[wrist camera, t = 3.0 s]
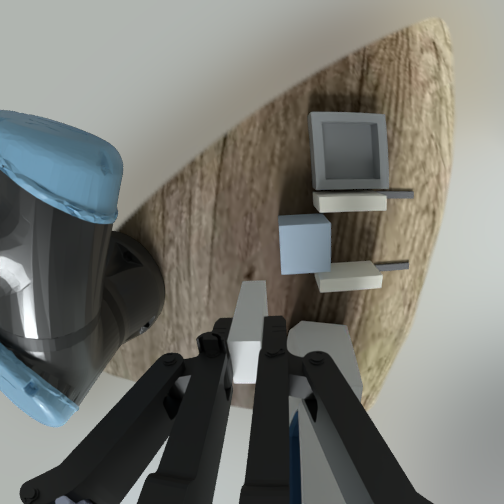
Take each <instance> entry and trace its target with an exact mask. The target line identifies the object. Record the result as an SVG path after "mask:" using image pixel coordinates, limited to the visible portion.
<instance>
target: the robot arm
mask: <svg viewBox="0 0 504 504" xmlns="http://www.w3.org/2000/svg"><path fill="white" fill-rule="evenodd" d="M122 175H123V162H122V159H121V156H120V154H119V152H118V151H117V150H116V148H115V147H113V146H112V145H111V144H110V143H108V142H106V141H105V140H103V139H101V138H99V137H97V136H95V135H93V134H90V133H88V132H86V131H83V130H80V129H78V128H75V127H72V126H69V125H66V124H64V123H60V122H57V121H54V120H51V119H47V118H43V117H39V116H35V115H28V114H24V113H18V112H15V111H8V110H0V390H1V391H2V392H3V393H4V394H5V395H6V396H7V397H8V398H9V399H10V400H11V401H12V402H13V403H14V404H15V405H16V406H18V408H20V409H21V410H22V411H23V412H25V413H26V414H28V415H29V416H30V417H32V418H33V419H35V420H36V421H38V422H40V423H42V424H44V425H47V426H50V427H60V426H62V425H64V424H65V423H66V422H67V421H68V419H69V418H70V417H71V416H72V415H73V413H74V412H75V411H78V410H79V405H80V403H81V402H82V400H83V399H84V397H85V396H86V395H87V393H88V392H89V390H90V388H91V387H92V385H93V384H94V383H95V381H96V380H97V378H98V377H99V375H100V374H101V373H102V371H103V370H104V368H105V367H106V365H107V364H108V363H109V361H110V360H111V358H112V357H113V356H114V354H115V353H116V351H117V350H118V348H119V347H120V346H121V345H122V344H124V343H126V342H127V341H129V340H131V339H133V338H135V337H137V336H139V335H140V334H142V333H144V332H145V331H147V330H148V329H149V328H150V327H151V326H152V325H153V324H154V322H155V321H156V319H157V318H158V316H159V315H160V313H161V311H162V308H163V305H164V299H165V289H164V283H163V279H162V276H161V273H160V270H159V268H158V266H157V264H156V263H155V261H154V259H153V258H152V256H151V255H150V254H149V253H148V251H147V250H146V249H145V248H144V247H143V246H142V245H141V244H139V243H138V242H137V241H136V240H134V239H133V238H131V237H129V236H127V235H125V234H123V233H120V232H116V231H112V226H113V223H114V222H115V220H116V218H117V216H118V210H117V201H118V195H119V190H120V185H121V180H122ZM196 341H197V345H198V349H199V355H198V356H197V357H193V358H188V359H183V357H182V356H181V355H180V354H178V353H167V354H164V355H162V356H161V357H160V358H158V360H157V361H156V362H155V363H154V364H153V365H152V366H151V367H150V368H149V369H148V370H147V371H146V373H145V374H144V375H143V376H142V377H141V378H140V379H139V380H138V381H137V382H136V383H135V384H134V386H133V387H132V388H131V389H130V390H129V391H128V392H127V393H126V394H125V395H124V396H123V397H122V399H121V400H120V401H119V402H118V403H117V404H116V405H115V406H114V407H113V408H112V409H111V410H110V411H109V413H108V414H107V415H106V416H105V417H104V418H103V419H102V420H101V421H100V422H99V423H98V424H97V425H96V427H95V428H94V429H93V430H92V431H91V432H90V433H89V434H88V435H87V437H85V438H84V440H82V442H81V443H80V444H79V445H78V446H77V447H76V448H75V449H74V450H73V451H72V452H71V453H70V454H69V456H68V457H67V458H66V459H65V460H64V461H63V462H62V463H61V464H60V465H59V466H57V467H55V468H53V469H51V470H49V471H47V472H45V473H43V474H41V475H39V476H37V477H35V478H33V479H31V480H29V481H27V482H25V483H24V484H23V485H22V487H21V488H20V498H21V500H22V502H23V503H24V504H120V502H121V501H122V500H123V499H124V497H125V496H126V494H127V493H128V492H129V491H130V489H131V488H132V486H133V485H134V484H135V483H136V481H137V480H138V478H139V477H140V476H141V474H142V473H143V472H144V470H145V469H146V467H147V466H148V465H149V463H150V462H151V461H152V459H153V458H154V456H155V455H156V454H157V452H158V450H159V449H160V448H161V446H162V445H163V444H164V442H165V441H166V439H167V438H168V436H169V438H168V441H167V444H166V447H165V450H164V452H163V456H162V458H161V461H160V464H159V467H158V469H157V471H156V472H155V473H151V474H149V475H148V476H147V478H146V480H145V482H144V485H143V488H142V491H141V493H140V496H139V499H138V502H137V504H212V502H213V496H214V490H215V485H216V480H217V474H218V469H219V463H220V459H221V453H222V448H223V442H224V436H225V431H226V426H227V421H228V415H229V409H230V405H231V399H232V394H233V386H232V380H233V379H234V383H256V386H255V395H254V405H253V414H252V424H251V433H250V441H249V450H248V459H247V467H246V475H245V483H244V485H243V486H242V489H241V493H240V499H239V504H289V503H290V485H289V479H290V442H289V396H291V397H296V398H301V400H302V403H303V405H304V408H305V410H306V412H307V415H308V417H309V420H310V422H311V424H312V427H313V429H314V431H315V434H316V436H317V438H318V441H319V443H320V445H321V448H322V450H323V452H324V454H325V457H326V459H327V461H328V464H329V466H330V468H331V471H332V473H333V475H334V477H335V480H336V482H337V484H338V487H339V489H340V491H341V493H342V496H343V498H344V500H345V502H346V504H433V503H432V502H430V501H429V500H427V499H426V498H424V497H423V496H421V495H420V494H419V493H417V492H416V491H415V489H414V487H413V486H412V484H411V483H410V481H409V479H408V478H407V476H406V474H405V473H404V471H403V470H402V468H401V466H400V465H399V463H398V462H397V460H396V458H395V457H394V455H393V453H392V452H391V450H390V449H389V447H388V445H387V444H386V442H385V441H384V439H383V437H382V436H381V434H380V433H379V431H378V430H377V428H376V427H375V425H374V423H373V422H372V420H371V419H370V417H369V416H368V414H367V412H366V411H365V409H364V407H363V406H362V404H361V403H360V401H359V399H358V398H357V396H356V395H355V393H354V392H353V390H352V388H351V387H350V385H349V384H348V382H347V381H346V379H345V377H344V376H343V374H342V373H341V371H340V370H339V368H338V367H337V365H336V363H335V362H334V360H333V359H332V357H331V356H330V355H329V354H328V353H326V352H323V351H312V352H309V353H307V354H306V355H305V356H304V357H299V356H295V355H293V354H291V353H290V352H289V351H288V349H287V336H286V320H285V319H284V318H283V316H268V308H267V294H266V280H263V281H243V282H242V286H241V290H240V293H239V297H238V301H237V305H236V309H235V313H234V317H233V318H220V319H219V320H218V321H216V322H215V324H214V327H213V330H212V332H206V333H203V334H201V335H200V336H198V337H197V339H196Z"/></svg>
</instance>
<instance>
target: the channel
mask: <svg viewBox="0 0 504 504" xmlns="http://www.w3.org/2000/svg"><path fill="white" fill-rule="evenodd" d="M313 205H314V207H315V208H316V209H317V210H318V211H319V212H320V213H324V212H350V211H386V207H387V196H386V195H383V194H380V193H378V192H375V191H372V190H364V191H321V192H313ZM382 277H383V275H382V274H381V273H380V271H379V270H378V269H377V268H376V267H375V266H374V264H373V263H372V262H371V261H356V262H341V263H331V272H318V273H315V278H316V281H317V285H318V288H319V291H320V293H323V292H337V291H349V290H361V289H373V288H381V286H382Z"/></svg>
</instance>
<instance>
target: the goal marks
mask: <svg viewBox="0 0 504 504" xmlns="http://www.w3.org/2000/svg"><path fill="white" fill-rule="evenodd" d="M376 192H378V193H380V194H383V195H386V196H387V198H413V197H414V192H413V191H376ZM374 266H375V267H376V268H377V269H378V270H379V271H391V270H403V269H409V263H408V262H405V263H393V264H379V265H374Z"/></svg>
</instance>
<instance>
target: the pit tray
mask: <svg viewBox="0 0 504 504" xmlns="http://www.w3.org/2000/svg"><path fill="white" fill-rule="evenodd" d="M307 117H308V128H309V140H310V154H311V169H312V187H313V188H314V189H316V190H334V189H389V167H388V146H387V132H386V120H385V114H372V113H353V112H310V114H309V115H308V116H307Z"/></svg>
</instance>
